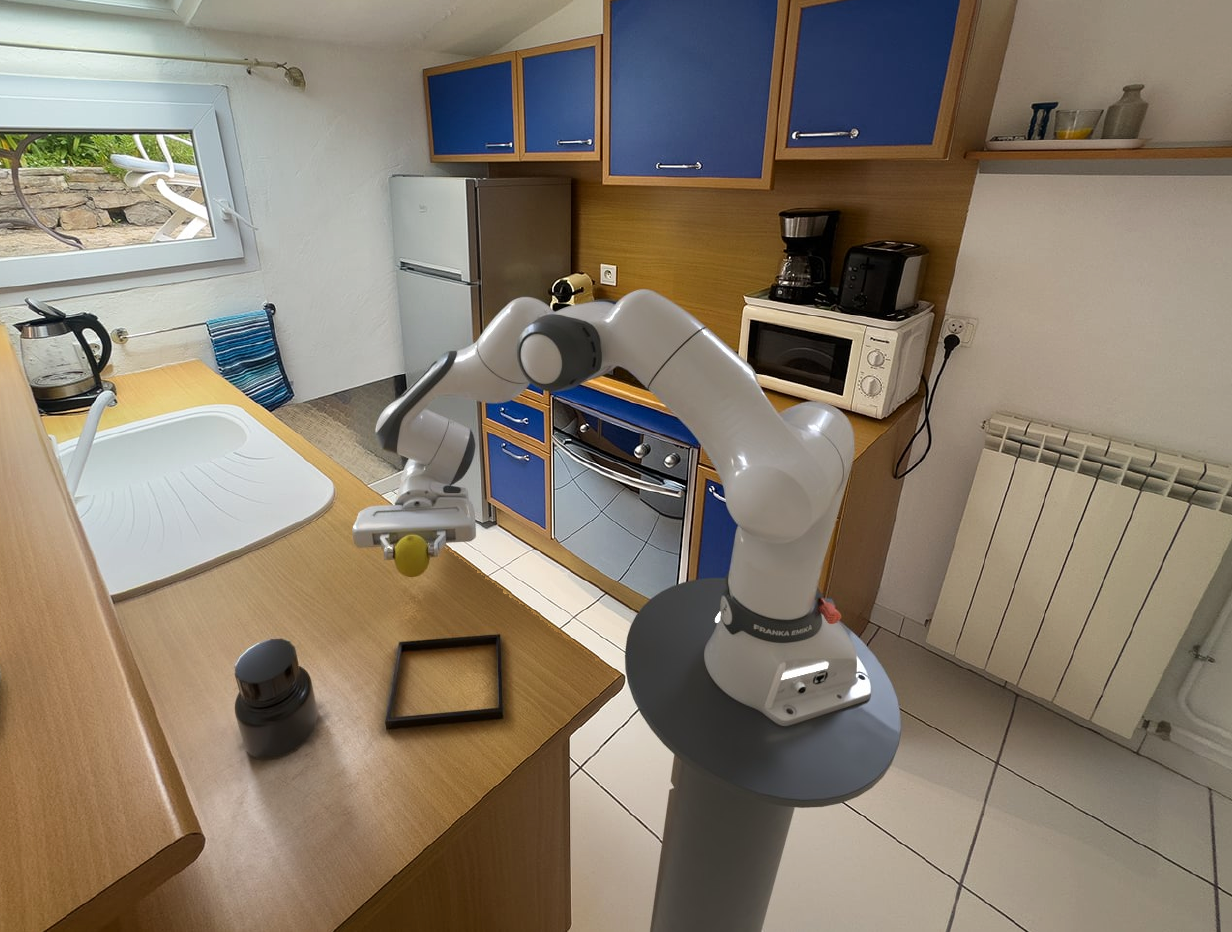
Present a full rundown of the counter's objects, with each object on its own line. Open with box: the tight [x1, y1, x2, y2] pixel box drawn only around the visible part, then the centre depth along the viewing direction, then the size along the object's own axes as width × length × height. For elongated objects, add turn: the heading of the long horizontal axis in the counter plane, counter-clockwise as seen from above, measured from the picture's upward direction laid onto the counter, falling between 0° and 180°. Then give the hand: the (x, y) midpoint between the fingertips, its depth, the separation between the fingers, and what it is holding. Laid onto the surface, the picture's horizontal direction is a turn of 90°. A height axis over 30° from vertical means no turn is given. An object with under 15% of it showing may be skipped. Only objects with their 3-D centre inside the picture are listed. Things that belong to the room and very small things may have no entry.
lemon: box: [394, 535, 431, 578], centre depth 92 cm, size 6×6×8 cm
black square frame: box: [384, 633, 504, 731], centre depth 82 cm, size 15×13×2 cm
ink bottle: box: [234, 638, 319, 760], centre depth 73 cm, size 10×9×12 cm
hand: (411, 555), depth 91 cm, fingers closed on lemon, 5 cm apart
